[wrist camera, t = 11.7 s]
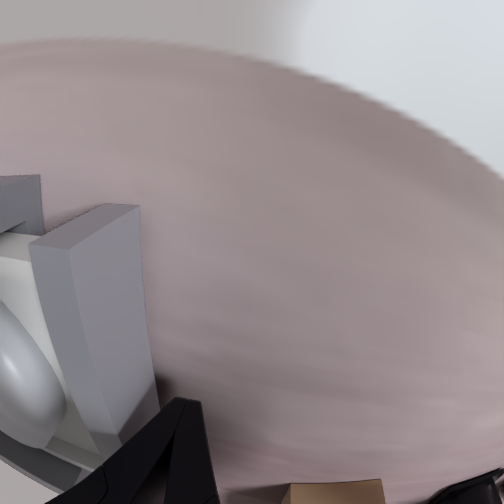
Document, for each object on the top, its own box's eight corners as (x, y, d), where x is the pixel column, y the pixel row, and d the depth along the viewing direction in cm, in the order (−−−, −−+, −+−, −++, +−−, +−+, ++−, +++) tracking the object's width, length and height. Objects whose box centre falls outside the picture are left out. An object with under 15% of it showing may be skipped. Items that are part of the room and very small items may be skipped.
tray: (158, 206, 7) (92, 252, 4) (182, 464, 11) (168, 516, 9) (-69, 199, 8) (-114, 220, 5) (-7, 391, 12) (-31, 421, 9)
